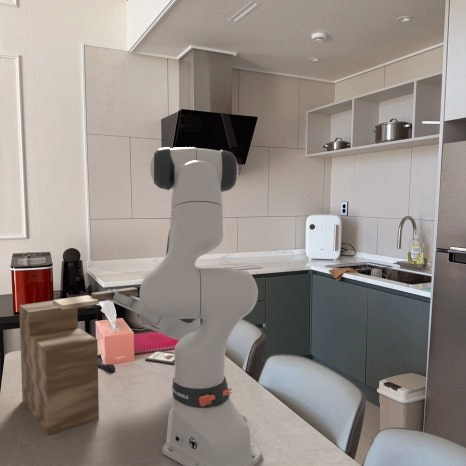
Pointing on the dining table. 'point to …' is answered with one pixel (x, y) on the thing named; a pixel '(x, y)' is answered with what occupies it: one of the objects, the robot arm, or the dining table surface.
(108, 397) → the dining table surface
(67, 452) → the dining table surface
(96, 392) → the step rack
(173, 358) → the chocolate bar
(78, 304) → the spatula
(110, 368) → the dark grey t-shaped piece
